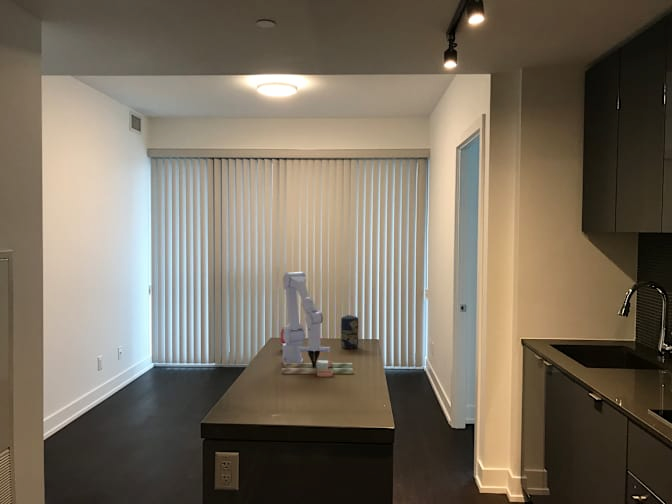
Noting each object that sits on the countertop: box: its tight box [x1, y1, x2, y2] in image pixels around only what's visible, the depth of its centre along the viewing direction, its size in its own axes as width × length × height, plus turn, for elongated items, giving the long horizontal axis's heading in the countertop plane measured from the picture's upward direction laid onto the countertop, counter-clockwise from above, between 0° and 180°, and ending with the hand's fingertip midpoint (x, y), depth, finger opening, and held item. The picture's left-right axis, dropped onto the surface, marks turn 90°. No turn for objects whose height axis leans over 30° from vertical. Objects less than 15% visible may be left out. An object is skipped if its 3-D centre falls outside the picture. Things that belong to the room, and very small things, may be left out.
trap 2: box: [316, 369, 334, 378], centre depth 219 cm, size 7×4×2 cm, turn 90°
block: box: [316, 359, 329, 370], centre depth 227 cm, size 5×5×4 cm
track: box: [281, 362, 354, 375], centre depth 227 cm, size 32×10×2 cm, turn 90°
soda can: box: [279, 326, 294, 351], centre depth 267 cm, size 7×7×12 cm
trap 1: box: [328, 361, 334, 368], centre depth 235 cm, size 7×4×2 cm, turn 90°
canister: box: [340, 314, 359, 349], centre depth 272 cm, size 10×10×18 cm
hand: (314, 367), depth 227 cm, fingers closed
